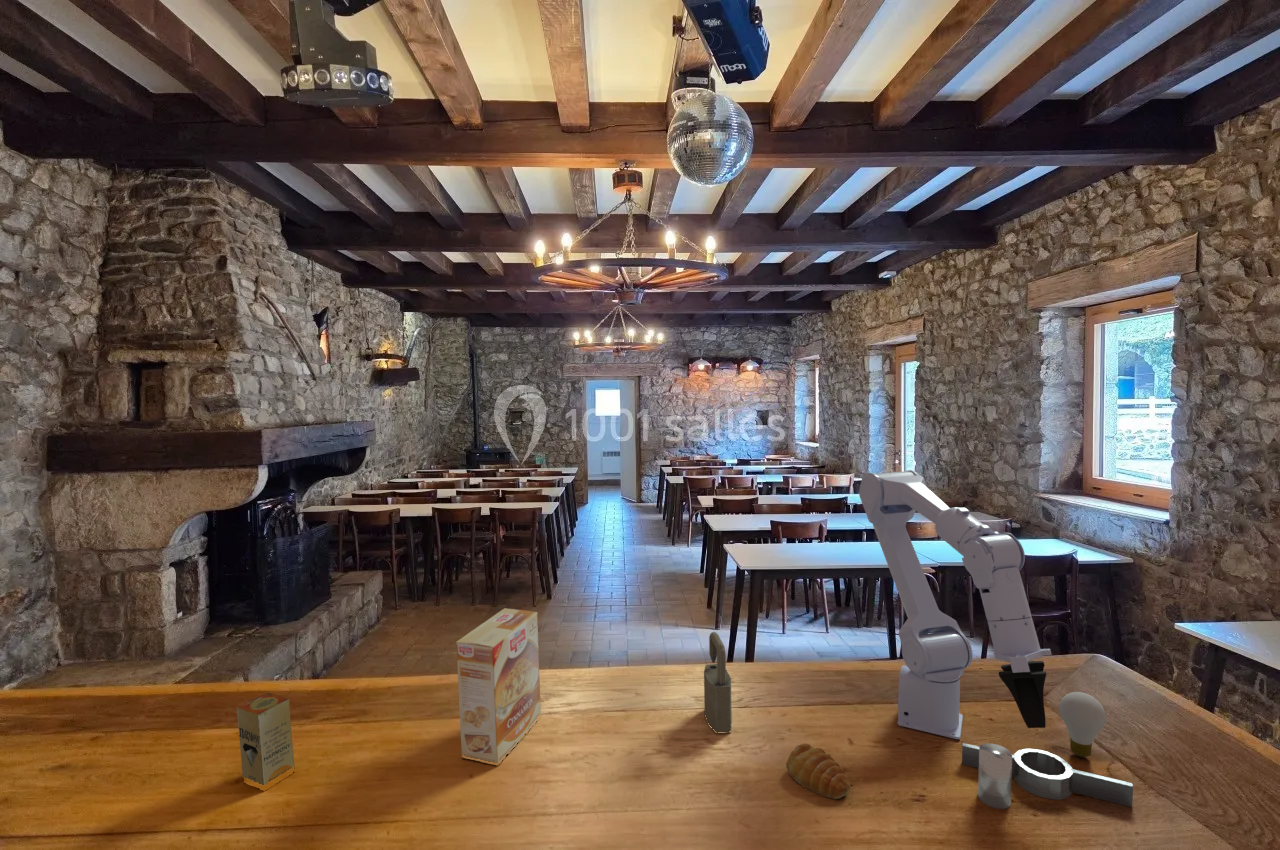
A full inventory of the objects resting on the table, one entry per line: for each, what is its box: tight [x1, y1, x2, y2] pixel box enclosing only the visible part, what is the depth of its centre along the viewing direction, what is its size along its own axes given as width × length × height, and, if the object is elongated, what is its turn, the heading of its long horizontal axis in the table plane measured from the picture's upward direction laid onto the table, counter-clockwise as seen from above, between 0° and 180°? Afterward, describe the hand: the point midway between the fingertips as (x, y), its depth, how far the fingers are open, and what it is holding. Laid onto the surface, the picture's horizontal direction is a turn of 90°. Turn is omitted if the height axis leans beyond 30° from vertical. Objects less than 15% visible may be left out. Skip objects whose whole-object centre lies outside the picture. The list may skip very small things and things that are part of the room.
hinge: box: [961, 742, 1134, 808], centre depth 93 cm, size 21×7×3 cm, turn 60°
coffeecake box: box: [455, 607, 542, 763], centre depth 107 cm, size 15×7×20 cm, turn 161°
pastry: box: [785, 743, 851, 800], centre depth 95 cm, size 9×7×4 cm
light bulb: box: [1058, 691, 1107, 759], centre depth 99 cm, size 6×6×10 cm
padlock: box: [703, 631, 733, 733], centre depth 111 cm, size 4×8×15 cm, turn 6°
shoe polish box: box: [236, 692, 295, 785], centre depth 98 cm, size 5×5×12 cm
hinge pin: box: [977, 742, 1013, 810], centre depth 90 cm, size 4×4×7 cm
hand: (1036, 721), depth 88 cm, fingers open, 7 cm apart
